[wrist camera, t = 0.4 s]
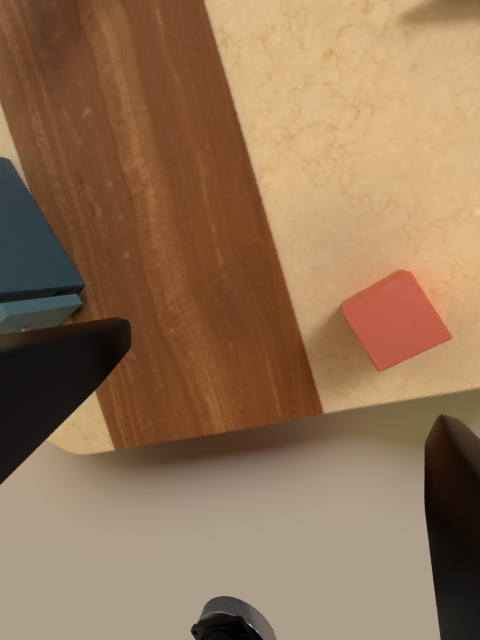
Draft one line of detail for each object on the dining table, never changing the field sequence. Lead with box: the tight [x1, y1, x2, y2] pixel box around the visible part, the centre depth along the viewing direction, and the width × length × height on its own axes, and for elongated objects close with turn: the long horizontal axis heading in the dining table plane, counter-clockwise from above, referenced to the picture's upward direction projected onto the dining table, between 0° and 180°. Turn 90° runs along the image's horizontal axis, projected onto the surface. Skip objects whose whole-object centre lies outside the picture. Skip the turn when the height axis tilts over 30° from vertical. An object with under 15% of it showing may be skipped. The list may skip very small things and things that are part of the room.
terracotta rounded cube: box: [341, 270, 452, 372], centre depth 21 cm, size 4×4×4 cm
